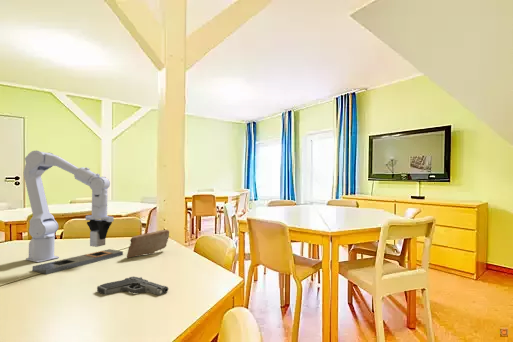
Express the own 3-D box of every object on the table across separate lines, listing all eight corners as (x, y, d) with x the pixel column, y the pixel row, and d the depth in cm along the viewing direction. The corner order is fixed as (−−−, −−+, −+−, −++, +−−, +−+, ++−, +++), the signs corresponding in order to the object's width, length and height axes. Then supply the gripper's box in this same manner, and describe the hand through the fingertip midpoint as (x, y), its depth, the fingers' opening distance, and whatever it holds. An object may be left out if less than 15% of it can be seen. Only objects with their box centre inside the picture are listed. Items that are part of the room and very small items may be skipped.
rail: (32, 270, 105) (32, 265, 105) (109, 252, 131) (109, 248, 131) (45, 274, 101) (46, 269, 101) (122, 254, 127) (122, 250, 127)
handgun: (131, 298, 75) (169, 284, 85) (97, 285, 85) (135, 273, 95) (131, 308, 75) (169, 293, 85) (97, 293, 85) (135, 281, 95)
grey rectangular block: (89, 246, 121) (90, 230, 121) (98, 244, 124) (98, 229, 125) (96, 246, 119) (96, 231, 119) (105, 244, 123) (105, 230, 123)
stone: (125, 258, 123) (128, 261, 120) (125, 236, 122) (129, 238, 119) (165, 247, 136) (170, 250, 133) (166, 227, 135) (170, 230, 132)
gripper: (79, 205, 122) (78, 238, 122) (103, 207, 116) (102, 241, 116) (94, 204, 129) (94, 235, 128) (118, 205, 123) (117, 238, 122)
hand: (99, 238), depth 122 cm, fingers closed on grey rectangular block, 4 cm apart
